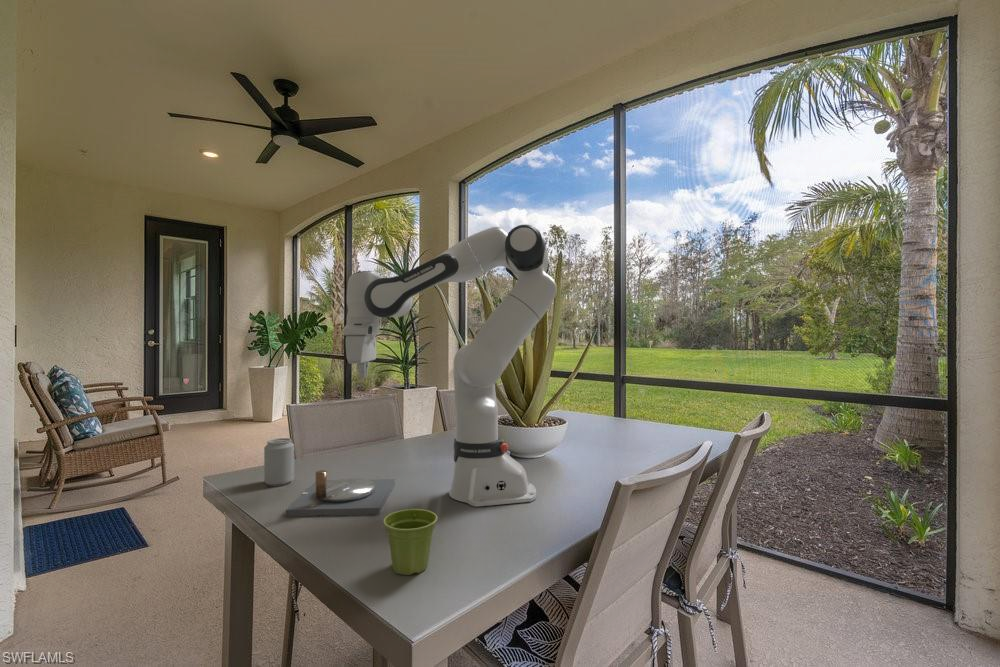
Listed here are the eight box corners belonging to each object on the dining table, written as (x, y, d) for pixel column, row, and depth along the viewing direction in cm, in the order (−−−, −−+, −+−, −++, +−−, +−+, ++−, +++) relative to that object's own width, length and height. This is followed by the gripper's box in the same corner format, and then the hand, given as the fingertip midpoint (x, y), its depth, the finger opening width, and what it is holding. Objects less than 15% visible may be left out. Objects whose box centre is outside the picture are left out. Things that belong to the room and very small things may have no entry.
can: (282, 488, 124) (282, 443, 124) (258, 486, 126) (258, 442, 126) (299, 479, 131) (299, 437, 131) (276, 477, 133) (276, 436, 133)
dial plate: (394, 484, 127) (394, 478, 127) (379, 514, 106) (379, 507, 106) (316, 486, 126) (316, 479, 126) (285, 516, 105) (285, 508, 105)
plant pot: (400, 551, 88) (400, 506, 88) (445, 558, 85) (445, 511, 85) (372, 576, 79) (372, 525, 79) (422, 584, 76) (422, 532, 76)
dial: (344, 480, 125) (344, 453, 125) (385, 487, 119) (385, 459, 119) (295, 499, 110) (295, 469, 110) (340, 508, 104) (340, 477, 104)
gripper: (360, 329, 140) (360, 374, 140) (341, 328, 120) (341, 381, 120) (381, 329, 140) (381, 374, 140) (366, 328, 120) (365, 381, 120)
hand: (362, 378), depth 130 cm, fingers closed
